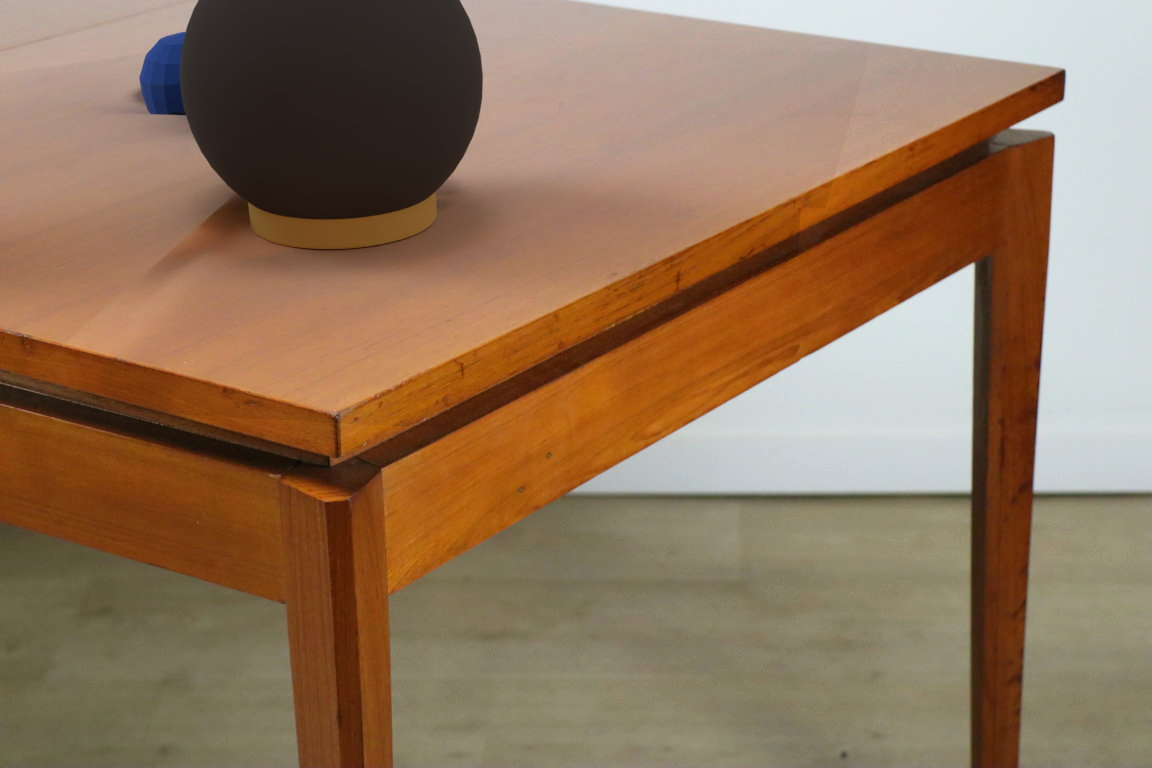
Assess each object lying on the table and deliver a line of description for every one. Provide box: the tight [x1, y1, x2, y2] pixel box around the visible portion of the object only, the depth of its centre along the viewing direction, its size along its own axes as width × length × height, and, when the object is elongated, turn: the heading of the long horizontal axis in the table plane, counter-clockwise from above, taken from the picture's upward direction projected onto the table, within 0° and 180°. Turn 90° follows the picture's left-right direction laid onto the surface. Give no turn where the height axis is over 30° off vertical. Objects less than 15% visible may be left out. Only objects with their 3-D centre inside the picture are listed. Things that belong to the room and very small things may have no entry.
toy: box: [138, 31, 186, 116], centre depth 89 cm, size 7×6×15 cm
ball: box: [180, 0, 484, 250], centre depth 71 cm, size 14×14×14 cm
